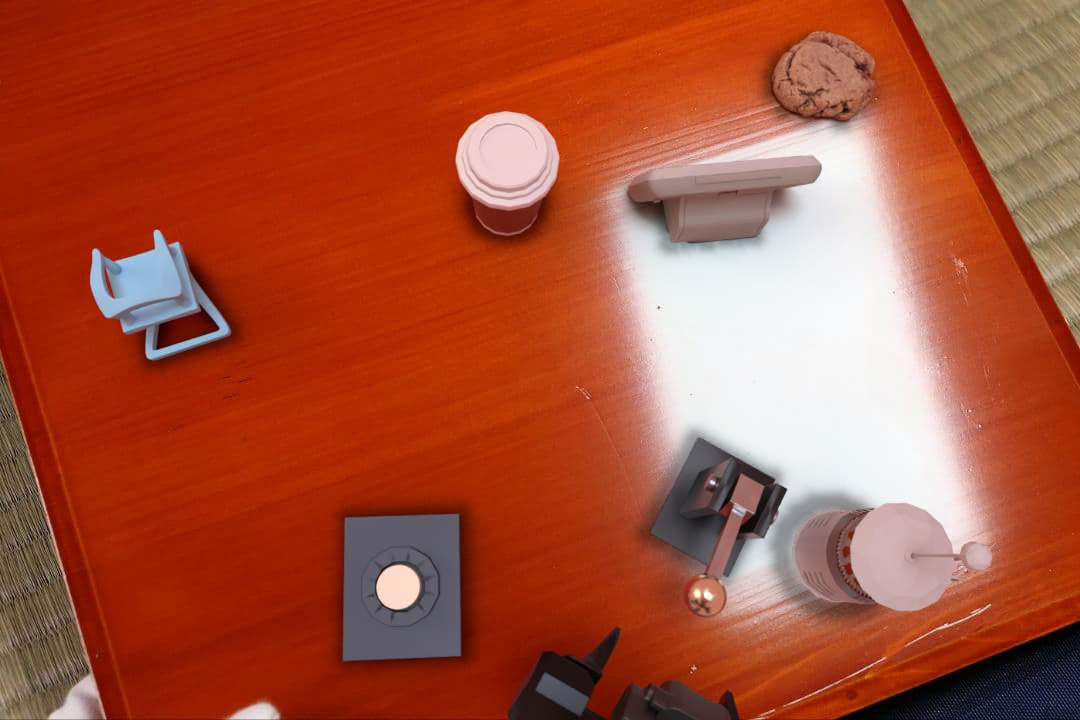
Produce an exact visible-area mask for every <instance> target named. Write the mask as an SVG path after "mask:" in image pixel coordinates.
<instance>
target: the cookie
mask: <svg viewBox="0 0 1080 720" xmlns="http://www.w3.org/2000/svg"><path fill="white" fill-rule="evenodd" d="M875 67H876V60H875V59H874V58H873V56H872V55H871V54H870V53H868V51H866V50H865V49H863V48H862V47H861V46H859V45H857V44H856V42H854V41H852V40H851V39H849V38H847V37H846V36H843V35H841V34H837V33H833V32H827V31H824V30H823V31H819V30H816V31H812V32H811V33H810V34H809V35H808V36H807V37H805V38H804V39H802V40H800V41H799V43H797V44H793V46H791V47H790V49H789V51H787V52H784V53H783V54H782V55H781V57H780V59H779V60H778V62H777V64H776V66H775V68H774V69H773V72H772V75H771V78H770V79H771V80H770V81H771V83H772V92H773V94H774V97H776V99H777V101H778V102H779V103H780V104H781V105H782V107H783V108H784V109H786V110H788V111H790V112H794V113H797V114H798V113H799V114H801V116H802V117H806V118H809V117H811V116H812V117H813V118H816V117H817V118H819V117H823V118H824V117H830V118H832V117H834V118H835V119H837V120H840V121H848V120H851V119H852V118H853V117H854V116H856V115H858V114H859V113H860V112H861V111H862V110H863V109H864V108H865V107H866V106H867V105H868V104H869V102H870V100H871V96H872V94H873V91H874V89H875V87H876V82H875V80H873V79H871V78H870V76H871V75H873V73H874V71H875Z"/></svg>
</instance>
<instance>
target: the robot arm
mask: <svg viewBox="0 0 1080 720" xmlns="http://www.w3.org/2000/svg"><path fill="white" fill-rule="evenodd" d="M621 630H622V629H621V627H618V626H615V627H614V628H613V629H612V630H611V631H610V633H609V634H608V635H607V636H605V638H603V640H602V641H601V642H600V643H599V644H598V645H597V646H596V647H595V648H594V649H593V650H591V652H589V654H587V655H585V656H584V657H582V658H579V657H577V656H575V655H573V654H571V653H565V654H560V653H558V652H556V651H554V650H548V651H547V650H545V651H542V652H541V653H540V655H539V657H538V658H537V659H536V661H535V663H534V664H533V666H532V667H531V669H530V670H529V671H528V673H527V675H526V676H525V677H524V679H523V680H522V682H521V683H520V685H519V687H518V688H517V689H516V691H515V692H514V694H513V697H512V699H511V702H510V704H509V706H508V708H507V711H506V714H507V718H508V720H608V719H609V720H741V719H740V716H739V712H738V708H737V705H736V700H735V698H734V694H733V692H732V691H731V690H729V689H726V690H725V691H724V692H723V693H722V695H720V697H719V700H718V702H716V701H715V702H714V701H712V700H711V699H709V698H707V697H705V696H703V695H702V694H700V693H698V692H696V691H695V690H693V689H691V688H690V687H689V686H688V685H687V684H685V683H684V682H682V681H681V680H676V679H669V680H666V681H664V682H662V683H661V684H660V685H659V686H658V685H656V684H654V683H652V682H649V683H648V684H647V686H646V687H640V686H639V685H637V684H635V683H630V684H628V685H627V686H626V688H625V690H624V691H623V692H622V694H621V696H620V698H619V700H618V701H617V703H616V705H615V706H614V708H613V709H612V712H611V713H610V716H609V718H608V719H607V718H606V717H603V716H602V715H600V714H599V713H596V712H594V711H593V710H591V709H590V708H588V705H589V703H590V700H591V699H592V696H593V693H594V690H595V687H596V686H597V684H598V683H599V682H600V680H601V679H602V677H603V676H604V670H605V667H606V666H607V664H608V661H609V660H610V657H611V655H612V654H613V652H614V650H615V648H616V646H617V644H618V641H619V639H620V634H621Z"/></svg>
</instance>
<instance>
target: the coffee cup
mask: <svg viewBox="0 0 1080 720" xmlns="http://www.w3.org/2000/svg"><path fill="white" fill-rule="evenodd" d="M560 159H561V158H560V154H559V150H558V146H557V142H556V139H555V138H554V137H553V135H552V134H551V133H550V132H549V131H548V129H547V128H546V127H545V125H544V124H543V123H541V122H540V121H538V120H536V119H534V118H532V117H531V116H530V115H528V114H526V113H519V112H514V111H507V110H505V111H500V112H494V113H490V114H486V115H484V116H483V117H482V118H480V119H478V120H477V121H475V122H473V123H472V124H469V126H468V128H467V129H466V131H465V132H464V133H463V135H462V136H461V137H460V139H459V141H458V143H457V150H456V154H455V161H454V162H455V166H456V170H457V175H458V180H459V182H460V184H461V185H462V186H463V187H464V189H465V190H466V192H467V193H468V194H469V196H470V197H471V200H472V204H473V208H474V212H475V216H476V218H477V220H478V221H479V223H480V224H481V225H482V226H483V228H485V229H486V230H487V231H490V232H491V233H493V234H495V235H501V236H506V237H509V236H513V235H517V234H521V233H523V232H525V231H526V230H527V229H529V228H530V227H531V226H532V225H533V223H534V222H535V220H536V219H537V218H538V215H539V210H540V208H541V205H542V201H543V199H544V197H546V196H547V194H548V193H549V191H550V190H551V188H552V187H553V186H554V184H555V183H556V180H557V178H558V171H559V166H560V165H559V164H560Z"/></svg>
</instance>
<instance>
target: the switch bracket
mask: <svg viewBox="0 0 1080 720" xmlns="http://www.w3.org/2000/svg"><path fill="white" fill-rule="evenodd" d="M740 474H743V475H745V476H746V477H748V478H750V479H752V480H754V481H755V482H757V483H759V484H761V485H763V486H764V490H763V493H762V496H761V499H760V501H759V504H758V507H757V510H756V512H755V515H753V516H752V517H751V518H750V519H749V520H748V521H747V522H745V523H744V524H743V525H741V526H740V529H739V531H738V534H737V537H736V539H735V542H734V545H733V548H732V550H731V553H730V556H729V558H728V561H727V564H726V566H725V569H724V572H723V575H722V576H724V577H726V578H729V577H730V575H731V573H732V571H733V568H734V566H735V564H736V562H737V560H738V559H739V556H740V554H741V552H742V550H743V548H744V546H745V544H746V542H747V541H748V540H761V539H762V540H763V539H765V537H766V536H767V533H768V531H769V529H770V527H771V526H772V525H773V524H775V522H776V521H777V518H778V517H779V514H780V510H779V508H780V506H781V504H782V502H783V500H784V498H785V496H786V493H787V492H788V488H786V487H785V486H783V485H781V484H779V483H777V482H776V478H775V477H772V476H770V475H769V474H767V473H766V472H764V471H762V470H760V469H758V468H757V467H755V466H752V464H749V463H747V462H745V461H744V460H742V459H740V458H738V457H736V456H735V455H733V454H731V453H729V452H728V451H725V450H723V449H722V448H720V447H718V446H716V445H714V444H713V443H711V442H709V441H707V440H706V439H704V438H702V437H700V436H698V437H696V440H695V442H694V444H693V446H692V447H691V449H690V451H689V454H688V456H687V457H686V459H685V461H684V462H683V465H682V467H681V468H680V471H679V473H678V475H677V477H676V478H675V481H674V483H673V484H672V486H671V489H670V490H669V492H668V494H667V496H666V498H665V500H664V502H663V504H662V506H661V508H660V510H659V512H658V514H657V516H656V518H655V520H654V522H653V523H652V526H651V528H650V529H649V531H648V534H649V535H651V536H653V537H655V538H656V539H658V540H660V541H662V542H663V543H666V544H667V545H668V546H670V547H672V548H674V549H676V550H678V551H679V552H681V553H682V554H684V555H686V556H689V557H690V558H692V559H694V560H695V561H697V562H699V563H701V564H703V565H705V566H706V567H707V565H708V562H709V560H710V557H711V554H712V552H713V549H714V547H715V544H716V541H717V539H718V536H719V534H720V531H721V528H722V526H723V523H724V521H725V518H726V516H724V515H723V514H721V513H719V511H720V509H721V507H722V505H723V503H724V501H725V499H726V497H727V495H728V493H729V491H730V489H731V487H732V485H733V483H734V481H735V479H736V478H737V477H738V476H739V475H740ZM775 482H776V483H775Z"/></svg>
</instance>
